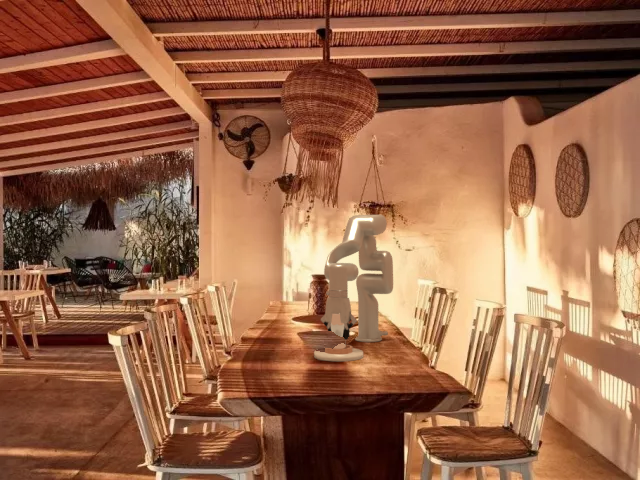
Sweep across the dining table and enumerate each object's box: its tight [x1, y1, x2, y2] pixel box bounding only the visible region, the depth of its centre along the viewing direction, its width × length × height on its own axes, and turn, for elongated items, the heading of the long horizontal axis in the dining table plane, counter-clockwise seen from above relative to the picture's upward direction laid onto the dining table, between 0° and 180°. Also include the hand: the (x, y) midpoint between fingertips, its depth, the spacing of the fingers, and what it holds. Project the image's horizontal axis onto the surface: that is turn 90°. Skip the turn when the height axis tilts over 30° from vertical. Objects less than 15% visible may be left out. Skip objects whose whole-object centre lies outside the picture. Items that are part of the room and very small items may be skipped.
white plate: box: [313, 344, 364, 362], centre depth 246 cm, size 20×20×4 cm
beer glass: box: [330, 314, 347, 349], centre depth 247 cm, size 7×7×15 cm
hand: (338, 338), depth 247 cm, fingers closed on beer glass, 6 cm apart
